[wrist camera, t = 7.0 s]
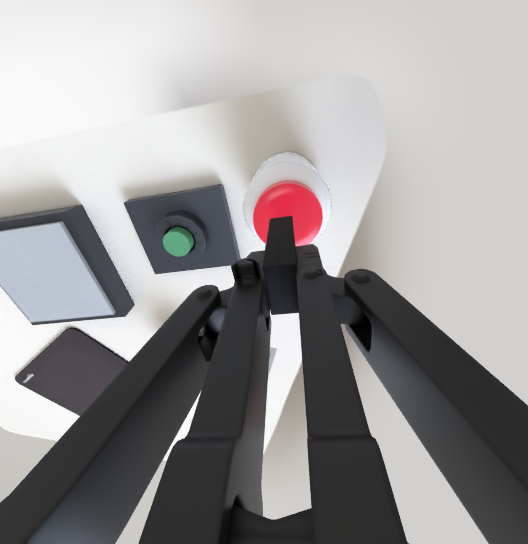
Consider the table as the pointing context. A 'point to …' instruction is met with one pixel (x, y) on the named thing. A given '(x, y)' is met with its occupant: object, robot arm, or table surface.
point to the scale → (59, 268)
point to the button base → (192, 216)
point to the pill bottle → (288, 197)
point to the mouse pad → (72, 371)
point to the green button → (178, 241)
